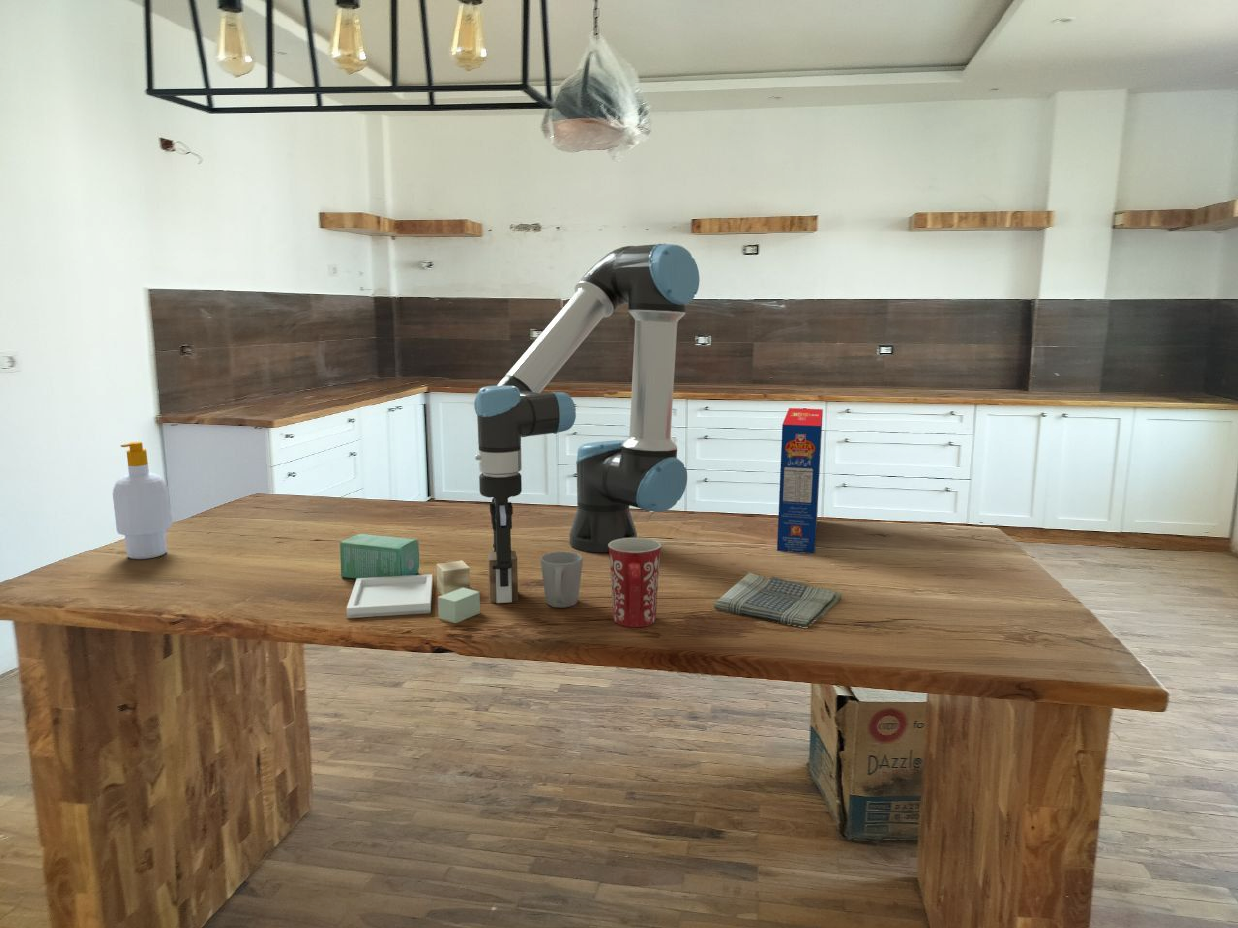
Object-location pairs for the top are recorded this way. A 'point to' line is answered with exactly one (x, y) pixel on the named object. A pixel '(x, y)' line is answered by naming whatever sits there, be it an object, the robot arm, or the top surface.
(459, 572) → the oak block
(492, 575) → the walnut block
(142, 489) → the soap bottle
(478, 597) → the sage block
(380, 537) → the box
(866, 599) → the top surface
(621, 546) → the mug
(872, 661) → the top surface
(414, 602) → the tray
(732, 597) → the dish towel
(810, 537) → the pasta box
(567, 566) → the cup
